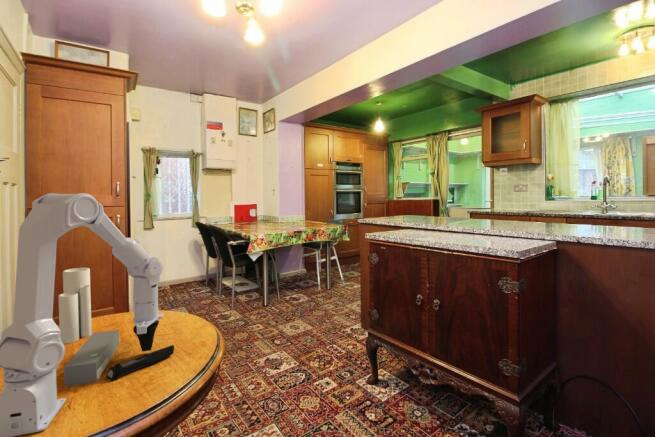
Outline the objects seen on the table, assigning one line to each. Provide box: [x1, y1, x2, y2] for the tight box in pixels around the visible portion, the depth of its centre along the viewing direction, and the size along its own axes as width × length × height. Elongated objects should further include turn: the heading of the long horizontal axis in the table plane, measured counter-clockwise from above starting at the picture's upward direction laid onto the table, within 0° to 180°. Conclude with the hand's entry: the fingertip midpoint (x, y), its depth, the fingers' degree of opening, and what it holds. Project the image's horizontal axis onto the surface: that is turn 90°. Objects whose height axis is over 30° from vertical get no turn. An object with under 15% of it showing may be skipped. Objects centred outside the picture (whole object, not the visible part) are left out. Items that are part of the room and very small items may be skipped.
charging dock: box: [63, 329, 120, 388], centre depth 81 cm, size 20×6×5 cm, turn 21°
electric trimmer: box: [105, 344, 175, 382], centre depth 80 cm, size 4×16×3 cm, turn 144°
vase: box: [58, 267, 92, 345], centre depth 97 cm, size 11×7×20 cm, turn 30°
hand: (146, 349), depth 86 cm, fingers closed
